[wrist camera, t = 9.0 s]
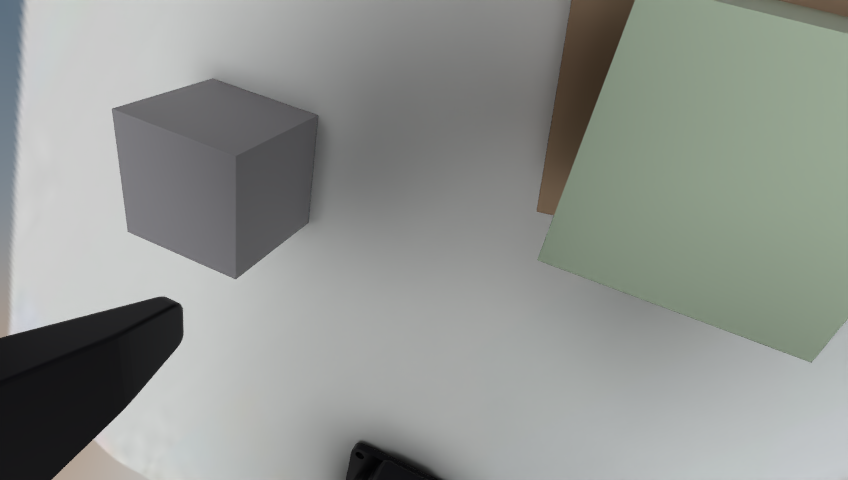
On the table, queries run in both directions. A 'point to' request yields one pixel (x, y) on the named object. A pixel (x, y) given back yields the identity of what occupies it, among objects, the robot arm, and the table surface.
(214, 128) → the charcoal cube
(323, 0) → the table surface
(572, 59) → the walnut block
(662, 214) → the sage cube
